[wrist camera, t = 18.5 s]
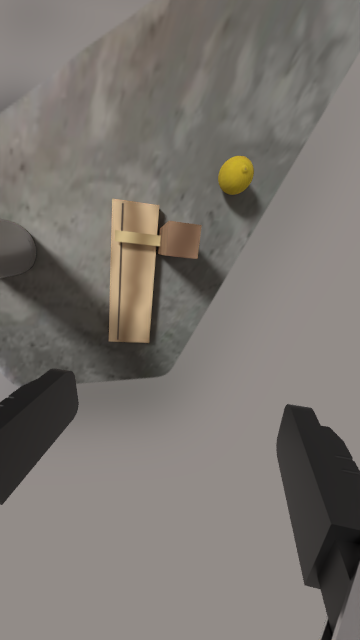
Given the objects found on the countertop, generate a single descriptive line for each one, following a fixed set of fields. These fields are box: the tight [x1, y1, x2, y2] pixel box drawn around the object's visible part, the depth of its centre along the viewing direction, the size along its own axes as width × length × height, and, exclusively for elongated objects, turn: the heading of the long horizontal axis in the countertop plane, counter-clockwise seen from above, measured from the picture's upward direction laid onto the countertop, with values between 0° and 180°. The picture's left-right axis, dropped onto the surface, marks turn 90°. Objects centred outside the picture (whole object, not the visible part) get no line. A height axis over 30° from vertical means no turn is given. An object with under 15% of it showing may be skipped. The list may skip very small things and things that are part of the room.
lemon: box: [218, 156, 254, 195], centre depth 41 cm, size 6×6×8 cm
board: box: [109, 199, 159, 343], centre depth 45 cm, size 8×26×2 cm, turn 174°
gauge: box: [115, 221, 201, 259], centre depth 38 cm, size 12×4×14 cm, turn 84°
